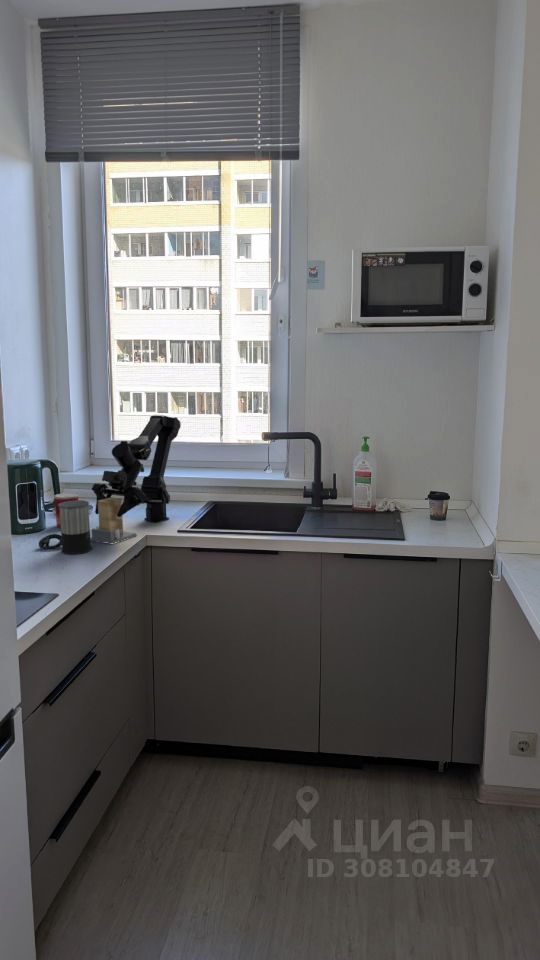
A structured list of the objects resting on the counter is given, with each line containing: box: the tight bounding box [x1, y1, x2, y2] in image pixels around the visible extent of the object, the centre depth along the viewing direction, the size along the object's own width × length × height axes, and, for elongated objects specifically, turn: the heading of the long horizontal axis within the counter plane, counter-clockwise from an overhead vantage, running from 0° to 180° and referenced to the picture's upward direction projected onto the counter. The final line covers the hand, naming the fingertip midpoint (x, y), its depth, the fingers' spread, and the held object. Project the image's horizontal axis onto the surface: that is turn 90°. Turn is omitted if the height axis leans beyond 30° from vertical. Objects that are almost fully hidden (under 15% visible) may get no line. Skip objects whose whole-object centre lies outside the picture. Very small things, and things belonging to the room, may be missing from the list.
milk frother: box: [38, 499, 93, 555], centre depth 228 cm, size 14×16×15 cm
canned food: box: [54, 492, 79, 529], centre depth 258 cm, size 8×8×11 cm
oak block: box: [97, 496, 124, 538], centre depth 239 cm, size 6×4×12 cm
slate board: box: [90, 526, 137, 543], centre depth 241 cm, size 12×9×4 cm
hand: (107, 515), depth 238 cm, fingers open, 9 cm apart
